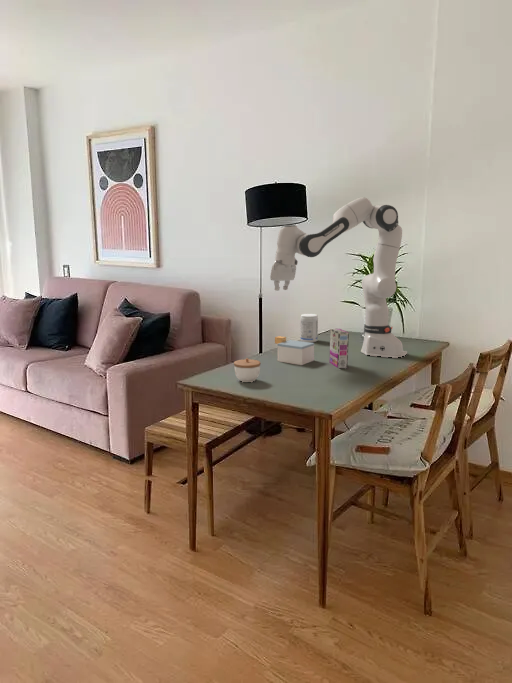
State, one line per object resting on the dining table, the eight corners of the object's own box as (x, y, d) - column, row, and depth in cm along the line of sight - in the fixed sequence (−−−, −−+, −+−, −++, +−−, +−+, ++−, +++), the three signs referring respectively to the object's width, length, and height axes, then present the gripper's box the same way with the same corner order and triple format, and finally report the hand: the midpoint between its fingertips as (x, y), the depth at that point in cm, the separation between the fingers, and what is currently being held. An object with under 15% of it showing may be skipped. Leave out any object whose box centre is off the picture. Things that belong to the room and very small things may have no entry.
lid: (314, 347, 246) (314, 338, 245) (301, 351, 237) (301, 342, 236) (283, 342, 255) (283, 334, 255) (270, 346, 247) (270, 338, 246)
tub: (313, 362, 247) (314, 345, 245) (301, 366, 238) (301, 349, 237) (290, 358, 254) (290, 341, 253) (277, 362, 246) (277, 345, 244)
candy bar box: (348, 369, 234) (349, 332, 231) (337, 369, 233) (338, 332, 230) (339, 363, 245) (340, 328, 242) (328, 363, 244) (329, 328, 241)
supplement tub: (309, 338, 302) (309, 313, 299) (321, 341, 295) (321, 315, 292) (296, 340, 296) (297, 314, 293) (308, 343, 289) (309, 316, 286)
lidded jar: (235, 377, 221) (234, 355, 219) (260, 377, 221) (260, 355, 219) (233, 384, 211) (232, 361, 209) (260, 384, 210) (260, 361, 209)
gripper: (281, 260, 235) (277, 291, 238) (299, 261, 253) (295, 290, 256) (268, 259, 238) (265, 289, 240) (287, 259, 256) (283, 288, 258)
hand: (281, 290), depth 248 cm, fingers open, 8 cm apart
